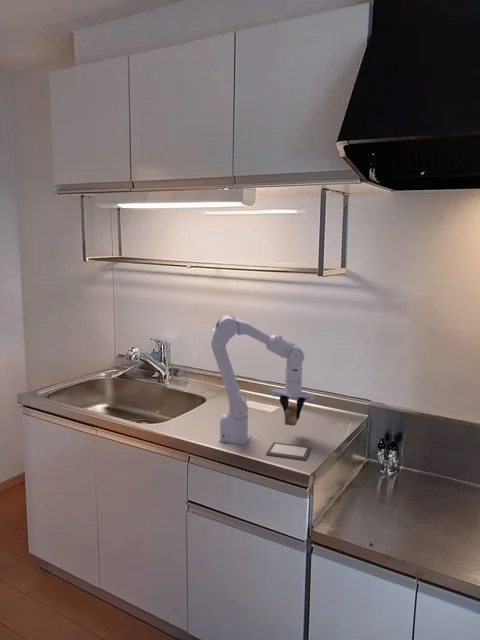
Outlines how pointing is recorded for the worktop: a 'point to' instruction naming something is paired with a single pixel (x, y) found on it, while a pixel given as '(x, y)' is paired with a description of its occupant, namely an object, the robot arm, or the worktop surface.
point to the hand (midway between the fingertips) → (292, 417)
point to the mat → (288, 451)
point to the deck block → (291, 415)
